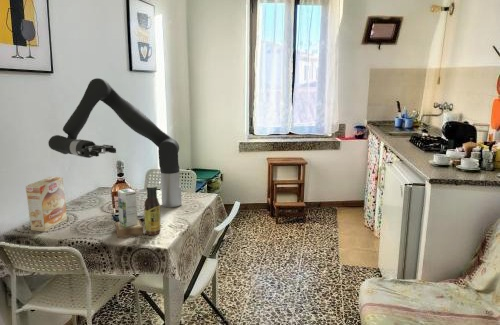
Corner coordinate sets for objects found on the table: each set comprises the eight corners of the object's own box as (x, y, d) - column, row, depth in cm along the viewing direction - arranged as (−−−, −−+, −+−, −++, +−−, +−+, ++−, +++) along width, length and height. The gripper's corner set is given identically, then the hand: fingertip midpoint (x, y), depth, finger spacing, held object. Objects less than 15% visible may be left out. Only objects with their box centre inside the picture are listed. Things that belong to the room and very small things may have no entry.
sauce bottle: (152, 237, 151) (150, 189, 146) (142, 233, 154) (139, 187, 149) (164, 231, 156) (162, 185, 152) (153, 228, 159) (151, 183, 155)
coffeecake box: (45, 231, 155) (40, 186, 151) (30, 230, 156) (24, 185, 152) (68, 218, 170) (63, 177, 165) (53, 217, 171) (48, 176, 166)
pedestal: (140, 225, 162) (139, 218, 162) (143, 234, 153) (142, 226, 153) (115, 228, 159) (115, 221, 158) (117, 237, 150) (117, 230, 149)
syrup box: (119, 223, 156) (116, 190, 152) (132, 220, 159) (130, 187, 156) (124, 227, 151) (122, 193, 148) (138, 224, 155) (136, 190, 152)
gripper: (67, 142, 159) (91, 145, 150) (96, 137, 170) (120, 141, 162) (68, 159, 160) (92, 164, 152) (97, 153, 172) (121, 158, 164)
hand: (106, 152), depth 157 cm, fingers open, 8 cm apart
